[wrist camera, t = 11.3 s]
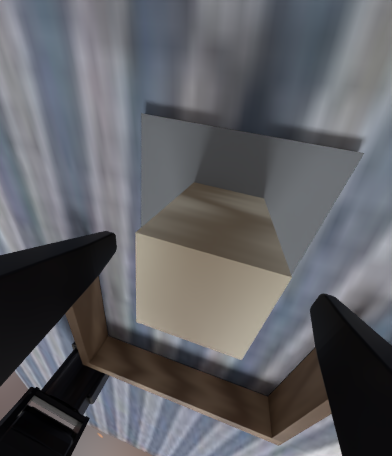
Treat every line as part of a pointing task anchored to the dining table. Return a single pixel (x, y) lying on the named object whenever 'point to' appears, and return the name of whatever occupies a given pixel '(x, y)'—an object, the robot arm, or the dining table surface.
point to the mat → (245, 174)
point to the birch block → (210, 269)
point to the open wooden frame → (200, 379)
